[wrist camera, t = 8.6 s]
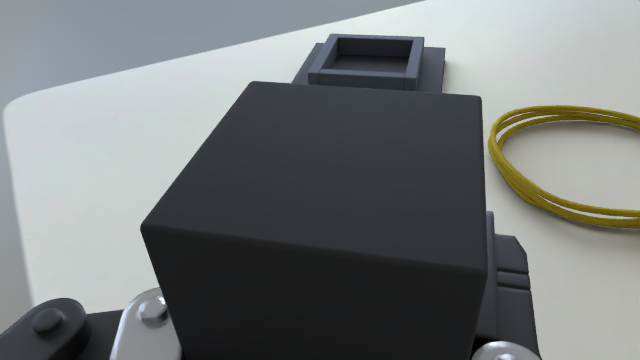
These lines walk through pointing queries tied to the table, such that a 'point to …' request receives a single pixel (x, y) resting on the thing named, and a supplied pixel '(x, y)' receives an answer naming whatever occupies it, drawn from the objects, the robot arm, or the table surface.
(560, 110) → the yellow coiled cord
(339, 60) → the base pad
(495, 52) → the table surface
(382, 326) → the tall dark pillar
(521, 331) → the robot arm
